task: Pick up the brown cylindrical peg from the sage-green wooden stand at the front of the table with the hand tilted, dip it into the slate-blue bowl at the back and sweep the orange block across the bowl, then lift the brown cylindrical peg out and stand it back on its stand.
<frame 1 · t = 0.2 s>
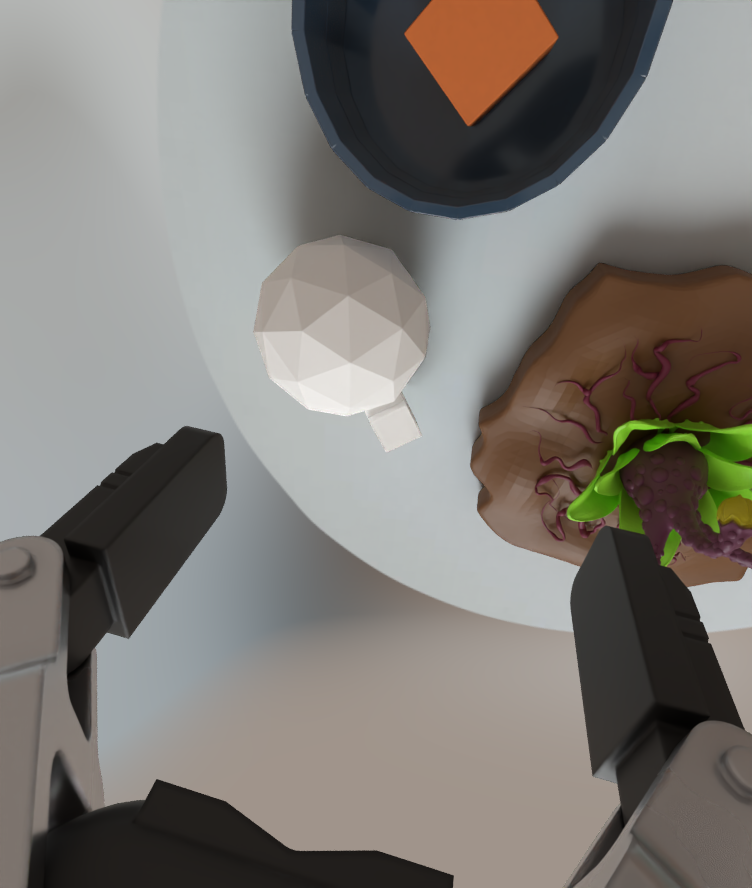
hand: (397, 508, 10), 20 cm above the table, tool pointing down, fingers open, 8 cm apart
block: (483, 49, 21), point 1 cm above the table, touching bowl
plant: (649, 433, 30), on the table
perfume bottle: (365, 327, 30), on the table
bowl: (476, 41, 22), on the table
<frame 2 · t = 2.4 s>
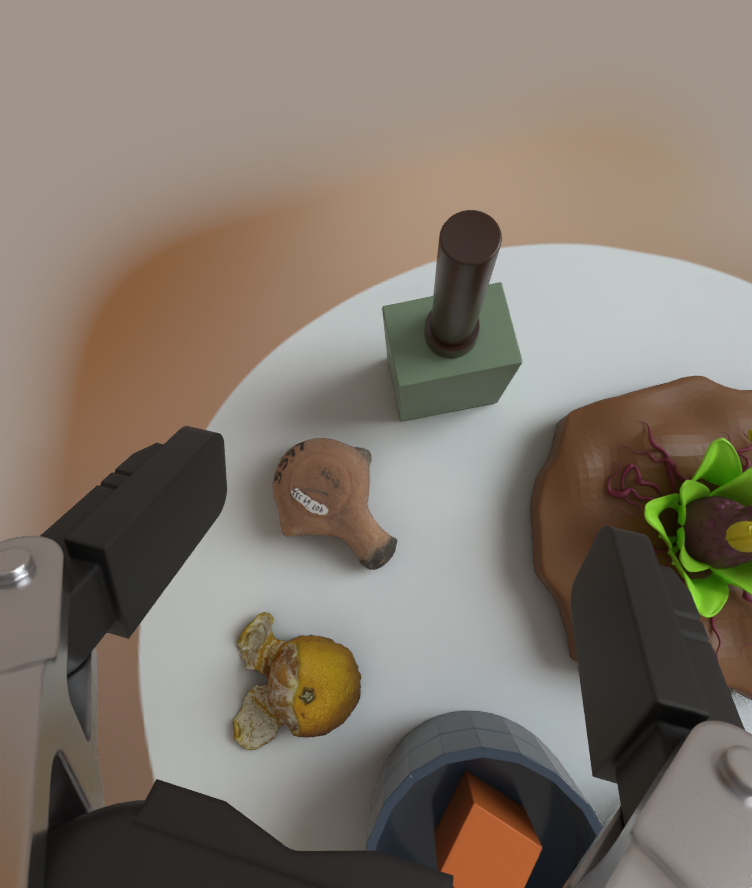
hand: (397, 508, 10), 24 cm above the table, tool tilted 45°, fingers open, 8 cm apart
block: (479, 820, 30), point 1 cm above the table, touching bowl
oil lamp: (337, 506, 35), on the table
brown cylindrical peg: (450, 333, 28), point 8 cm above the table, touching stand
plant: (677, 531, 33), on the table
fruit: (288, 670, 33), on the table
stand: (441, 379, 36), on the table
bowl: (474, 823, 30), on the table
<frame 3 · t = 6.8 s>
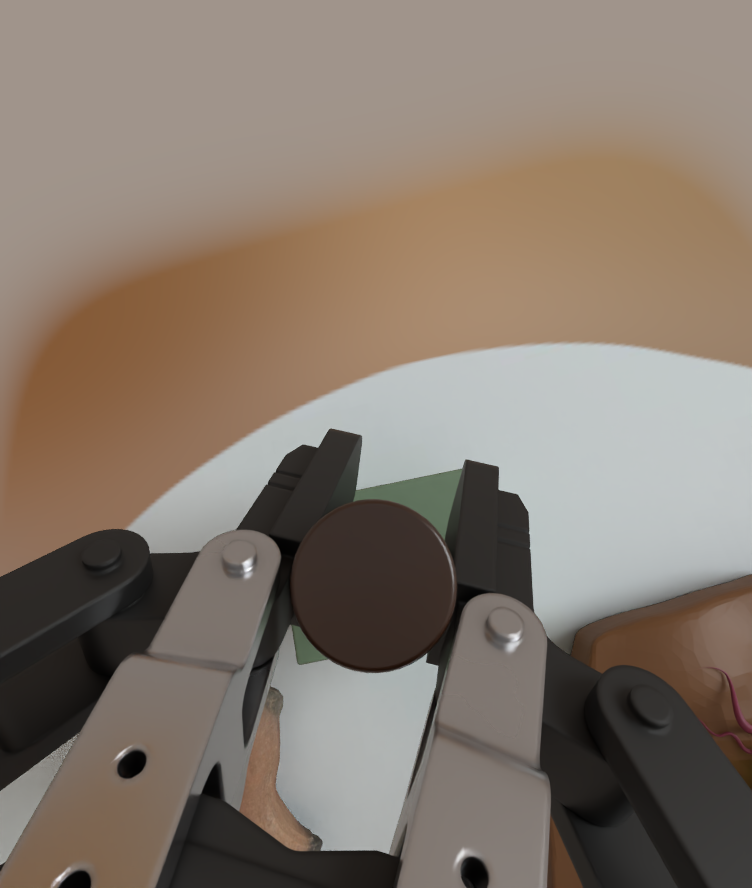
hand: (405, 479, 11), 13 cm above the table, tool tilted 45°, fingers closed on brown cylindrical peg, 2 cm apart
oil lamp: (236, 762, 22), on the table
brown cylindrical peg: (393, 563, 16), point 8 cm above the table, touching gripper, stand
stand: (397, 557, 24), on the table
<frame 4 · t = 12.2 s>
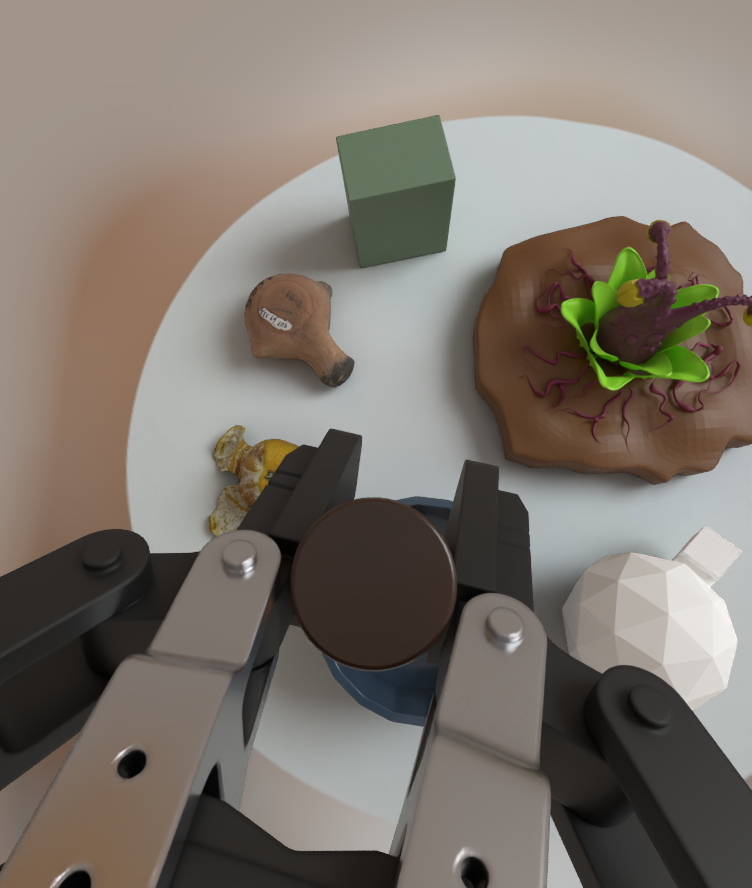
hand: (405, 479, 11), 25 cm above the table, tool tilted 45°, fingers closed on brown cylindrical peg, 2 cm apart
oil lamp: (303, 340, 39), on the table
brown cylindrical peg: (393, 562, 16), point 20 cm above the table, touching gripper
plant: (602, 355, 37), on the table
fruit: (259, 476, 37), on the table
perfume bottle: (632, 609, 34), on the table
stand: (397, 232, 40), on the table
bowl: (419, 595, 34), on the table
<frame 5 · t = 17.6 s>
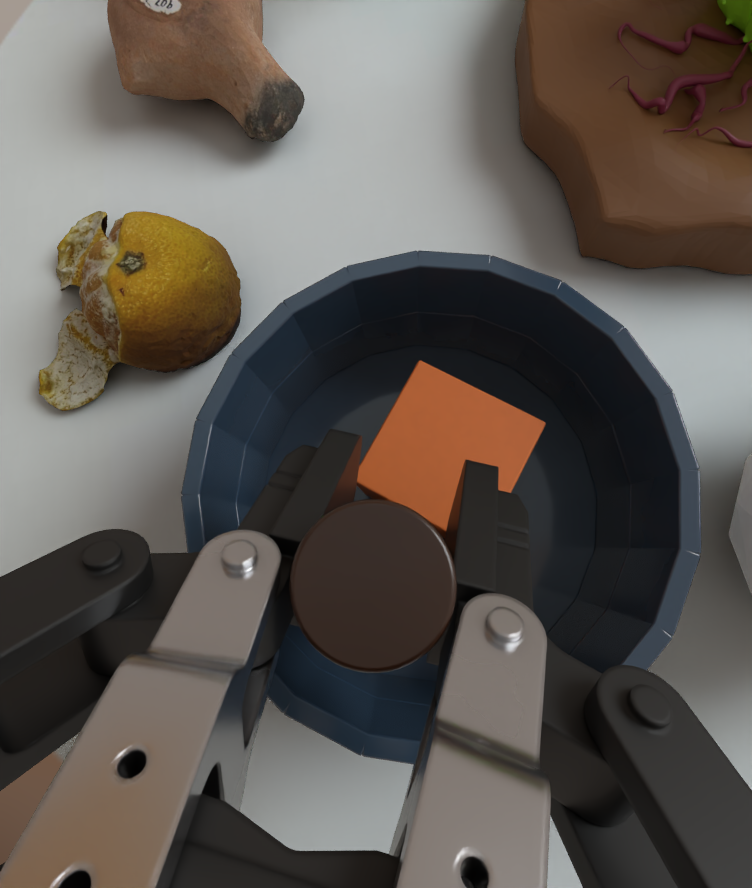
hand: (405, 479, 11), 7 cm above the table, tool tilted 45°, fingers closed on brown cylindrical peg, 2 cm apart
block: (440, 471, 18), point 1 cm above the table
oil lamp: (221, 85, 23), on the table
brown cylindrical peg: (393, 563, 16), point 2 cm above the table, touching gripper
plant: (747, 81, 21), on the table
fruit: (136, 305, 21), on the table
bowl: (425, 503, 18), on the table
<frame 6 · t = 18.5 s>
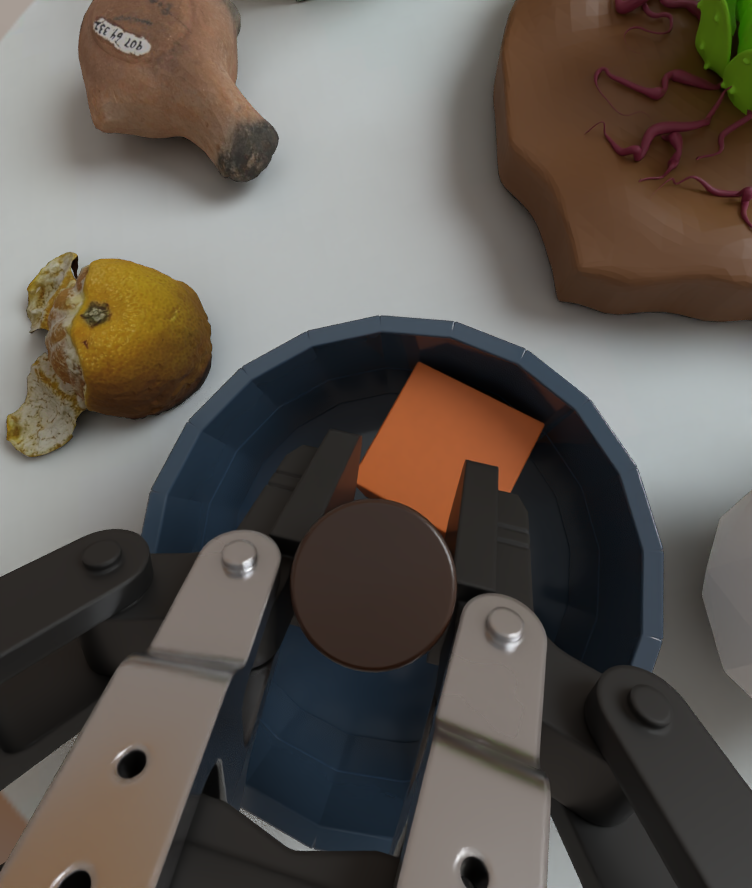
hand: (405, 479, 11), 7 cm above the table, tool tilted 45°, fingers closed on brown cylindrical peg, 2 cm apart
block: (439, 472, 18), point 1 cm above the table, touching bowl, brown cylindrical peg
oil lamp: (196, 120, 22), on the table
brown cylindrical peg: (392, 563, 16), point 2 cm above the table, touching block, gripper
plant: (728, 121, 20), on the table
fruit: (107, 347, 20), on the table
bowl: (397, 555, 18), on the table
when the fingers open (13 cm above the table, at t = 28.4 s): brown cylindrical peg stays where it is, resting on stand.
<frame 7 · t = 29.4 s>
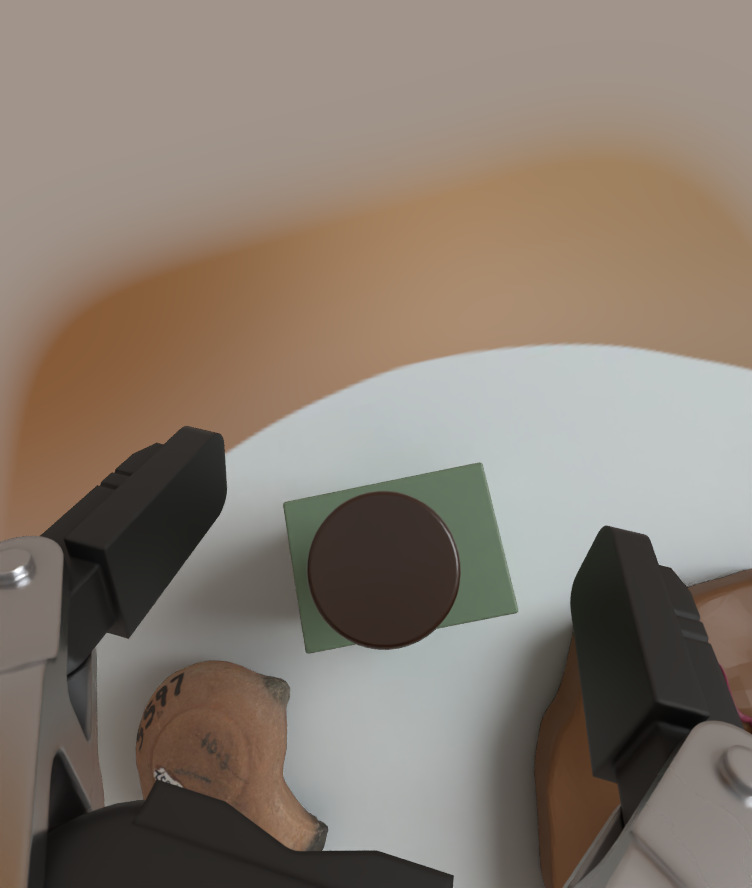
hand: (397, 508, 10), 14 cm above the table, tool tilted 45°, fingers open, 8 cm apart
oil lamp: (244, 752, 23), on the table
brown cylindrical peg: (398, 556, 16), point 8 cm above the table, touching stand
stand: (401, 552, 24), on the table
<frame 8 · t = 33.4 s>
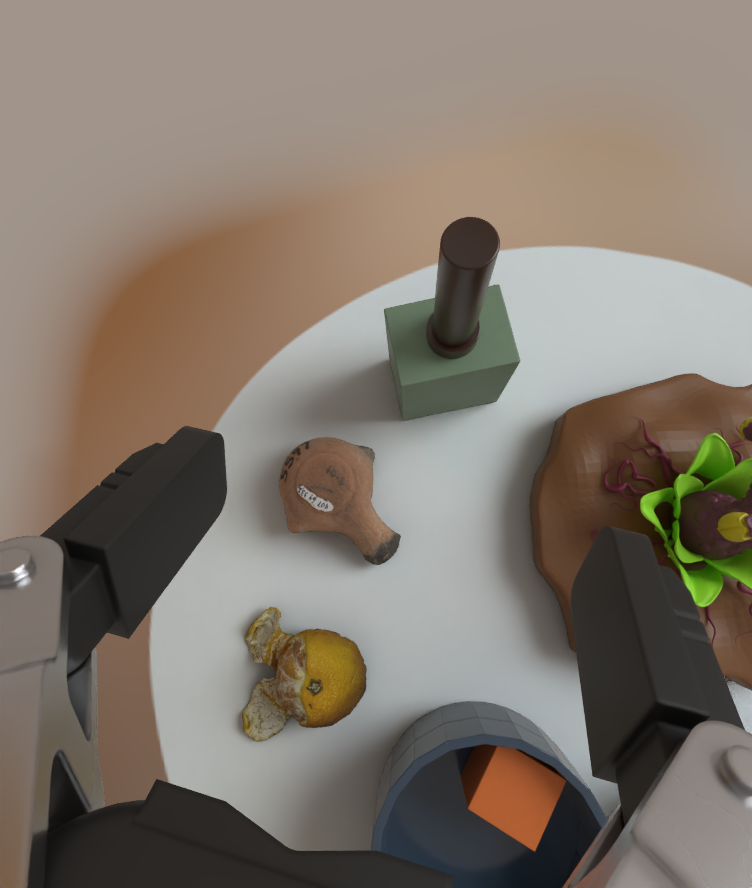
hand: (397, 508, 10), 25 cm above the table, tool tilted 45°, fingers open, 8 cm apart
block: (503, 763, 31), point 1 cm above the table, touching bowl
oil lamp: (341, 503, 36), on the table
brown cylindrical peg: (452, 334, 29), point 8 cm above the table, touching stand
plant: (673, 525, 34), on the table
fruit: (296, 663, 34), on the table
stand: (442, 379, 37), on the table
bowl: (478, 810, 31), on the table
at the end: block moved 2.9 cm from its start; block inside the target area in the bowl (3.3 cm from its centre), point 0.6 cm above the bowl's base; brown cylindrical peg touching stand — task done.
